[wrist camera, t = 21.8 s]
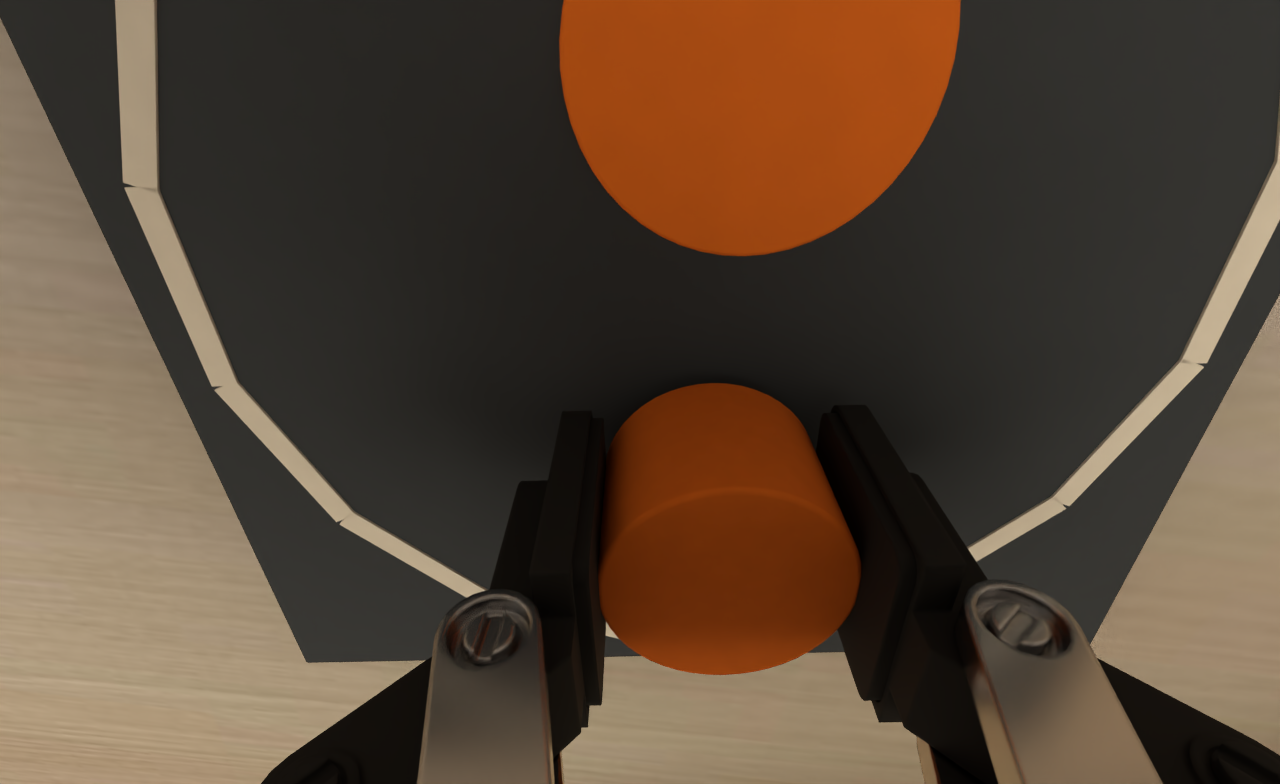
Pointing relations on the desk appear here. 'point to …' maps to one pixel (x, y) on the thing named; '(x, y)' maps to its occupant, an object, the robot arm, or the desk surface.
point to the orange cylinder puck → (752, 109)
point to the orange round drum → (721, 534)
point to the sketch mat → (660, 277)
